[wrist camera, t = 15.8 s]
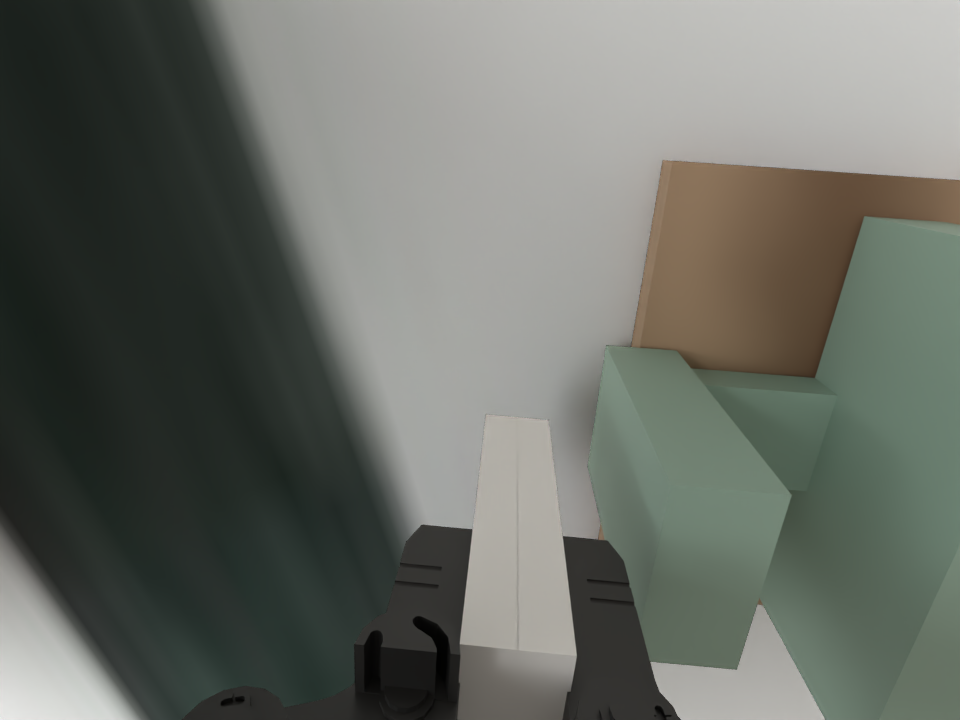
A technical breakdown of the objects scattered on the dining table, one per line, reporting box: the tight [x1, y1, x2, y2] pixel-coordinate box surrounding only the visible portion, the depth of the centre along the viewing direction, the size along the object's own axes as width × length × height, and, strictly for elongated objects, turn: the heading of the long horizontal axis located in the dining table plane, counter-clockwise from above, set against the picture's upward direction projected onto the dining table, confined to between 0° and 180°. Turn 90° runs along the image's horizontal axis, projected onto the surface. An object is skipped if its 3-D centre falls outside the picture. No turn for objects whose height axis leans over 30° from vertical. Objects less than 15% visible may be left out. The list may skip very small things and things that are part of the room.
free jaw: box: [588, 216, 960, 720], centre depth 13 cm, size 8×12×7 cm, turn 176°
